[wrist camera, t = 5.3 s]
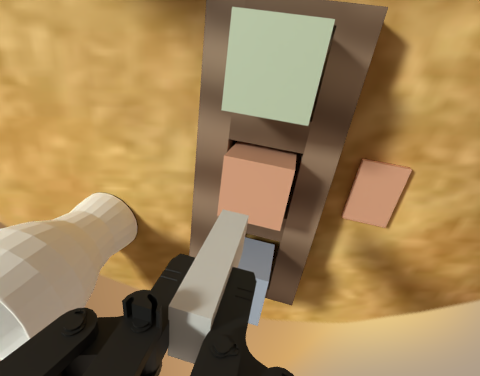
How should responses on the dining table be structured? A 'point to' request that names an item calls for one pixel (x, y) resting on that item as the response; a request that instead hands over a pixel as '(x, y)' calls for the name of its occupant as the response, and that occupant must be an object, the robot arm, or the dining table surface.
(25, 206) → the dining table surface
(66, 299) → the cup
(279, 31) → the sage green cube
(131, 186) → the dining table surface
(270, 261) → the blue-grey cube
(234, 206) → the salmon cube
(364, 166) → the swatch
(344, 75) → the walnut board
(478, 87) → the dining table surface
